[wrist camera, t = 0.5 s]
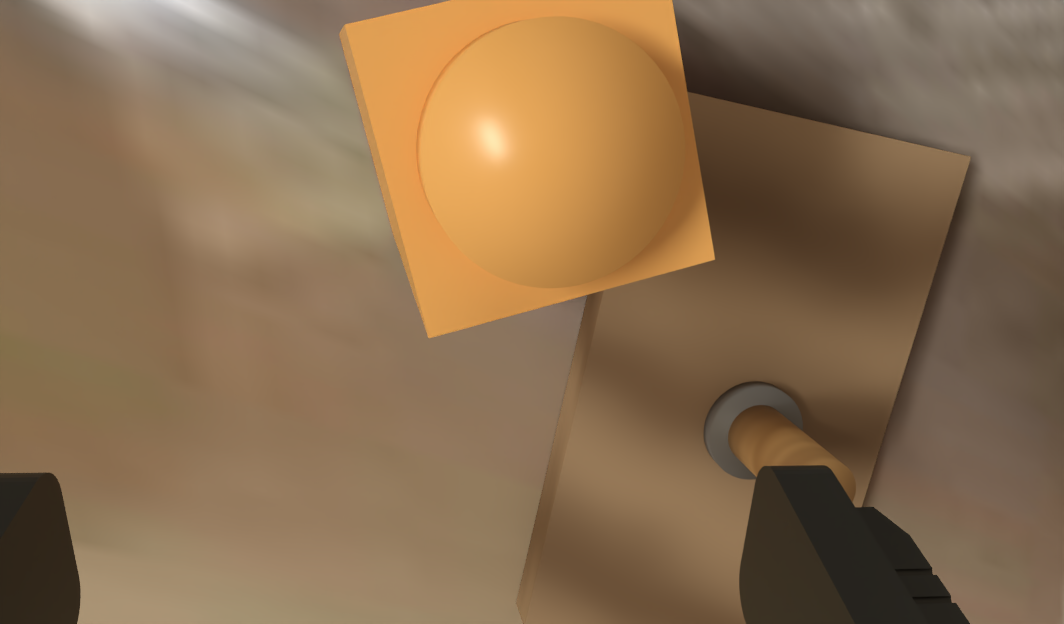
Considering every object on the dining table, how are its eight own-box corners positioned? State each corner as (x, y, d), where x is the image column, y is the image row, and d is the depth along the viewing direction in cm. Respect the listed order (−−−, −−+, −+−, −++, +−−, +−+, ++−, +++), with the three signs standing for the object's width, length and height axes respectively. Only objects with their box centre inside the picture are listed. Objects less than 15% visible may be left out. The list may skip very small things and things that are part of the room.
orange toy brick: (338, 34, 27) (345, 23, 16) (539, -12, 28) (686, -55, 17) (393, 234, 29) (435, 356, 18) (581, 186, 30) (739, 272, 18)
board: (637, 82, 29) (718, 90, 23) (942, 152, 32) (1088, 176, 26) (516, 602, 33) (558, 728, 27) (797, 626, 36) (893, 745, 30)
